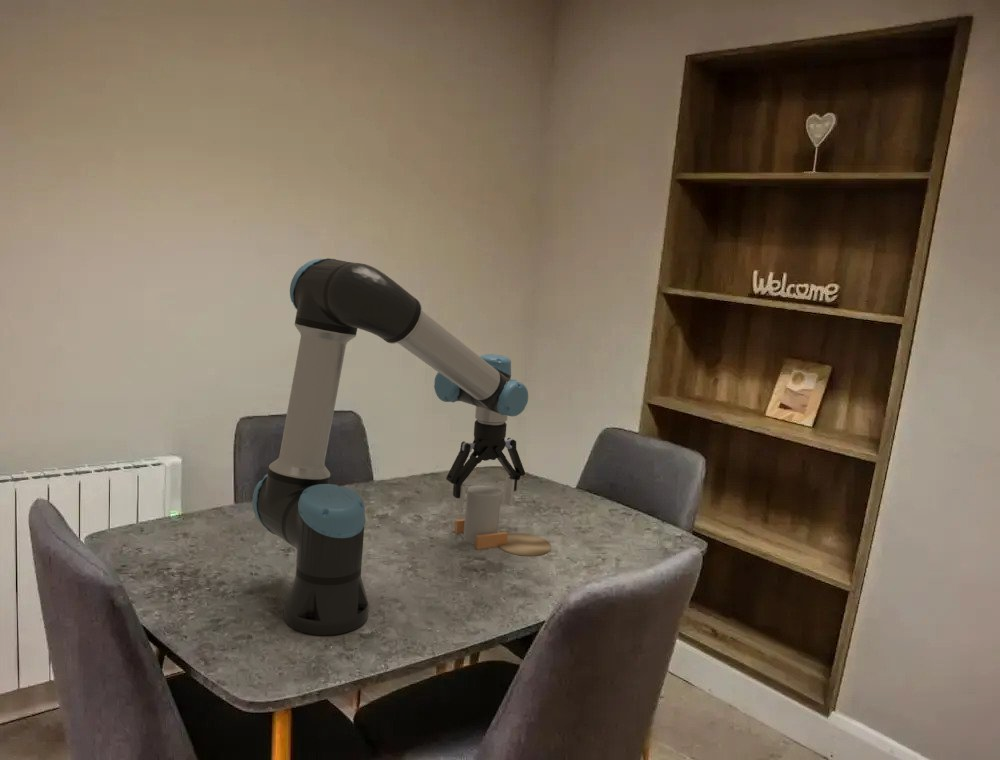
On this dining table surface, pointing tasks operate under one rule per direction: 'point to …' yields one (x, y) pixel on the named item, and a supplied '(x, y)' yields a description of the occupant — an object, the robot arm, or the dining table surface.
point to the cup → (481, 512)
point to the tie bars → (484, 537)
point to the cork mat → (525, 545)
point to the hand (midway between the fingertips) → (484, 507)
